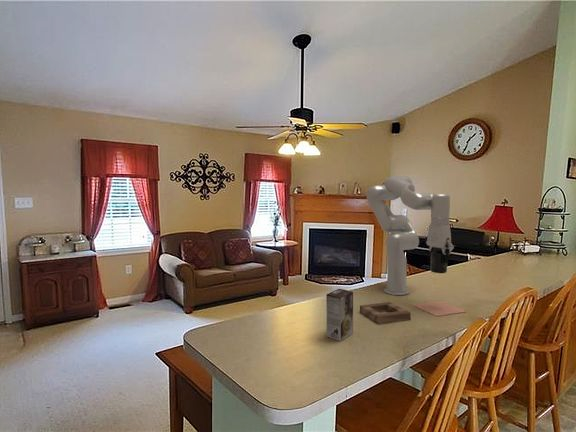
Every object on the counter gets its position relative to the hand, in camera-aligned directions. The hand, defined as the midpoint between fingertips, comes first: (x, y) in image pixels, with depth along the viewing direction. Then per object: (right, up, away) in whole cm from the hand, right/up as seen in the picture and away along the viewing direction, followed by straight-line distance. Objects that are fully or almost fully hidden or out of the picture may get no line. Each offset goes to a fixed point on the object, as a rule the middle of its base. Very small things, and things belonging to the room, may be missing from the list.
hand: (438, 261), depth 156 cm
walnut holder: (-26, -22, -7) cm, 35 cm away
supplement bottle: (0, -5, 0) cm, 5 cm away
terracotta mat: (0, -21, +1) cm, 22 cm away
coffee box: (-48, -24, -27) cm, 60 cm away
